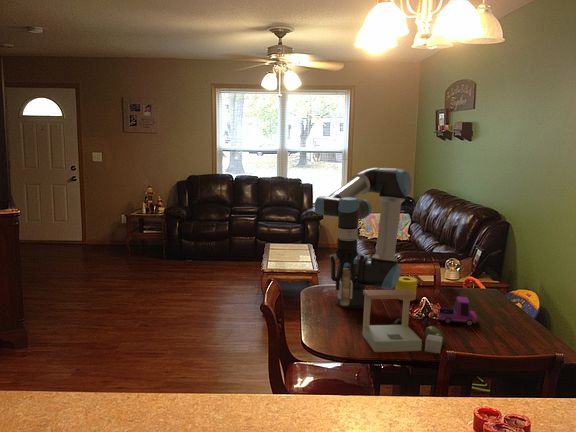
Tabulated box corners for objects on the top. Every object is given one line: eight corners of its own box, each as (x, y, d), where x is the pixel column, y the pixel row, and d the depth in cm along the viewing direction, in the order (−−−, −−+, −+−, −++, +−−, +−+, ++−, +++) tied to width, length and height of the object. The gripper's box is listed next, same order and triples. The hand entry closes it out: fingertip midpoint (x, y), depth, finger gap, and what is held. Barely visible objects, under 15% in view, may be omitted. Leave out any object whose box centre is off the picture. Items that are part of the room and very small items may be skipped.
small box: (440, 354, 192) (441, 341, 191) (424, 351, 194) (425, 339, 193) (441, 348, 197) (442, 336, 196) (426, 345, 199) (427, 333, 198)
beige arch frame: (361, 325, 207) (363, 290, 205) (406, 324, 210) (409, 289, 207) (366, 331, 201) (368, 295, 198) (413, 330, 203) (415, 294, 201)
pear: (435, 323, 208) (449, 336, 199) (433, 334, 209) (447, 348, 200) (423, 324, 206) (437, 337, 197) (421, 335, 208) (434, 349, 199)
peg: (338, 302, 203) (340, 268, 200) (347, 302, 203) (349, 267, 200) (341, 306, 199) (342, 270, 196) (350, 305, 200) (351, 270, 197)
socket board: (362, 335, 207) (362, 325, 207) (405, 333, 210) (406, 324, 209) (374, 352, 192) (375, 341, 191) (421, 350, 194) (421, 340, 194)
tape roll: (417, 301, 251) (419, 282, 250) (397, 300, 251) (398, 281, 250) (413, 294, 261) (414, 276, 260) (393, 294, 261) (394, 275, 260)
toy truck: (476, 327, 220) (478, 304, 218) (438, 323, 223) (440, 301, 221) (472, 318, 230) (474, 296, 229) (436, 315, 233) (438, 293, 232)
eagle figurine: (416, 329, 212) (412, 317, 220) (407, 316, 210) (404, 305, 219) (399, 337, 214) (396, 325, 222) (391, 324, 212) (388, 312, 220)
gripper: (328, 241, 191) (325, 301, 196) (371, 240, 194) (368, 300, 198) (323, 236, 199) (321, 295, 203) (365, 236, 201) (362, 294, 205)
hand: (344, 297), depth 201 cm, fingers closed on peg, 3 cm apart
